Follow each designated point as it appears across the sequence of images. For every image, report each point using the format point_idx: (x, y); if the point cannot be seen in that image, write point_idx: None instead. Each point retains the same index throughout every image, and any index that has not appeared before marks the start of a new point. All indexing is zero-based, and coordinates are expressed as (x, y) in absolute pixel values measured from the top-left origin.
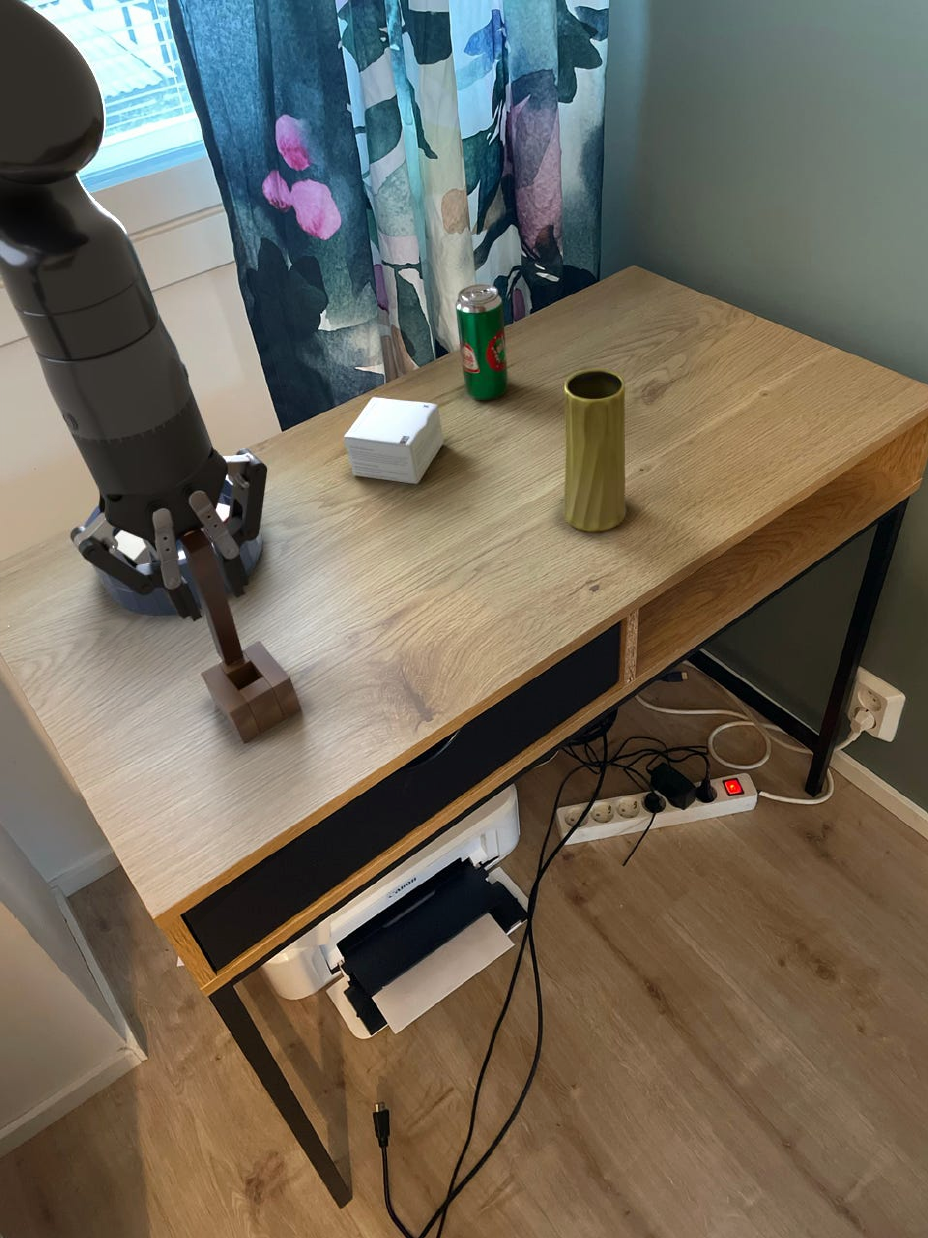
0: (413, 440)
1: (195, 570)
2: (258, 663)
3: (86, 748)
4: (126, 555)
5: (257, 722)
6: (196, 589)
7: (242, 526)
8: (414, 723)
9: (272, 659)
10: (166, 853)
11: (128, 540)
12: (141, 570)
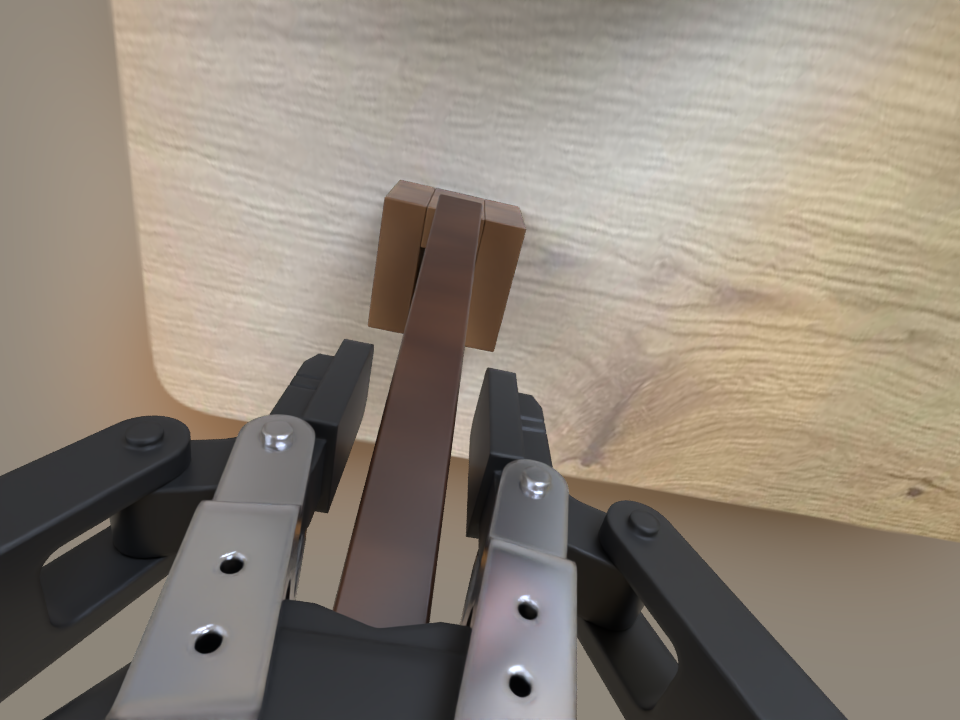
0: None
1: None
2: (480, 278)
3: (149, 41)
4: (89, 508)
5: None
6: (384, 408)
7: (589, 636)
8: (569, 454)
9: (505, 292)
10: (196, 349)
11: None
12: (155, 528)
